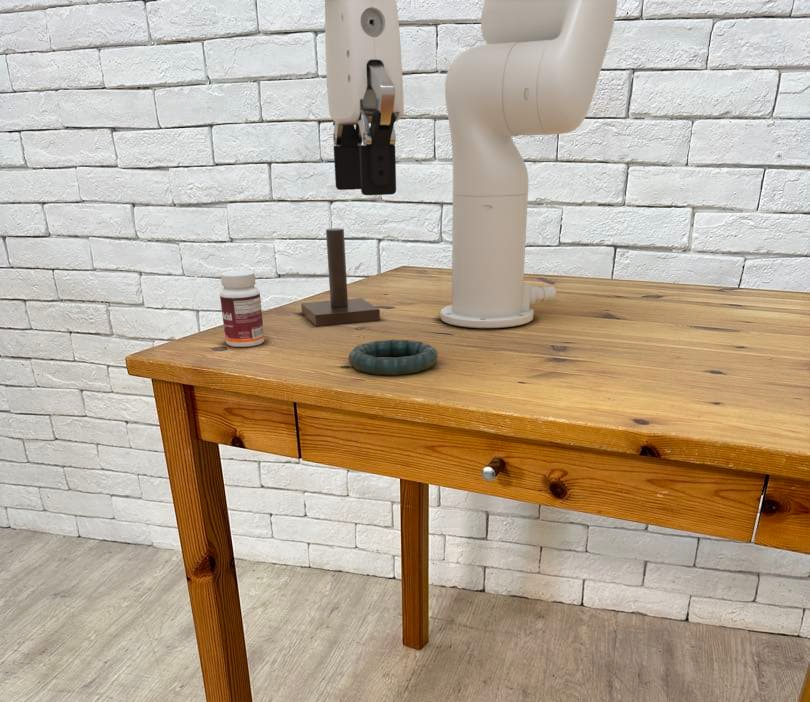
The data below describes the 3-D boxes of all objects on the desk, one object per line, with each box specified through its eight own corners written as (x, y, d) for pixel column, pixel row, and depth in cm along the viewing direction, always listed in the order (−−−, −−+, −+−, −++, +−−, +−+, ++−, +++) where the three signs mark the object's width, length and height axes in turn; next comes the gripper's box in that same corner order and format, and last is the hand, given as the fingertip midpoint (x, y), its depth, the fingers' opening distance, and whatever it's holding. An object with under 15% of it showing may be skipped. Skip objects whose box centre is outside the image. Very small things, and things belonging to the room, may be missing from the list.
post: (361, 308, 113) (358, 224, 108) (380, 320, 105) (376, 230, 100) (301, 313, 110) (294, 228, 105) (316, 326, 103) (309, 234, 98)
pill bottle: (222, 341, 96) (213, 271, 93) (259, 336, 98) (252, 268, 94) (230, 349, 93) (221, 277, 89) (269, 344, 94) (261, 273, 90)
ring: (419, 350, 90) (419, 335, 90) (450, 370, 82) (450, 354, 82) (340, 358, 88) (339, 343, 87) (364, 381, 80) (363, 363, 79)
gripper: (430, -43, 60) (431, 195, 68) (370, -7, 75) (376, 186, 83) (337, -47, 58) (349, 199, 66) (294, -9, 73) (308, 188, 81)
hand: (364, 191), depth 75 cm, fingers open, 9 cm apart
